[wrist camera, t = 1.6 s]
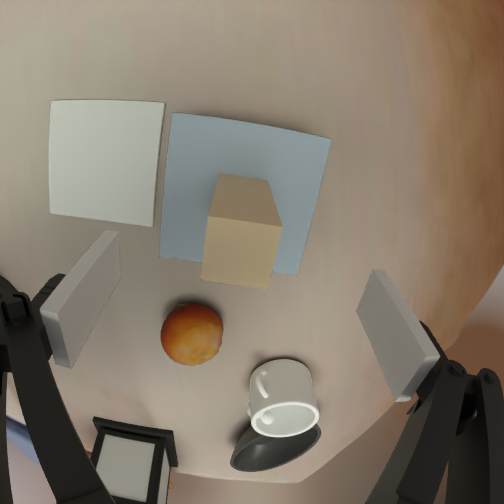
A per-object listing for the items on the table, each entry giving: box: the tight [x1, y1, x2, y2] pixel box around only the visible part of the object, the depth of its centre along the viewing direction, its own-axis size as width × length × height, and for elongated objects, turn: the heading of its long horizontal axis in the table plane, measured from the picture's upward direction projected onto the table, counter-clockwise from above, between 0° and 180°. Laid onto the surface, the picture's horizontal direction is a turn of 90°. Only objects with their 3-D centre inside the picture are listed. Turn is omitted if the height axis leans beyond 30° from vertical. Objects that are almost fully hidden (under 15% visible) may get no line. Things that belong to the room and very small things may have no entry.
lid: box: [159, 112, 332, 289], centre depth 23 cm, size 13×13×11 cm
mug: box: [247, 359, 319, 437], centre depth 44 cm, size 12×10×9 cm
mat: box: [49, 100, 166, 227], centre depth 32 cm, size 14×14×1 cm
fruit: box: [161, 303, 223, 365], centre depth 40 cm, size 8×8×8 cm
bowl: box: [230, 423, 321, 472], centre depth 52 cm, size 12×22×6 cm, turn 147°
